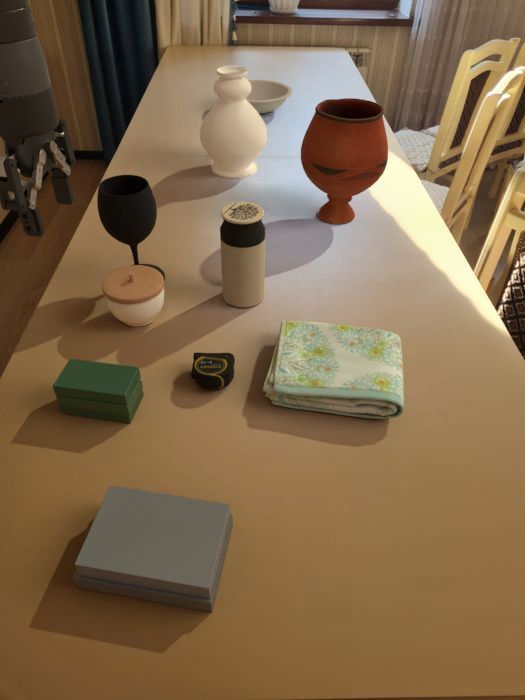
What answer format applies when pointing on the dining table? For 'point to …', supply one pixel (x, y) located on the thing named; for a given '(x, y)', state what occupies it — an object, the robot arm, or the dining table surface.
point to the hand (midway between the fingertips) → (51, 218)
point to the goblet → (344, 153)
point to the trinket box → (134, 294)
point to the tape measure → (213, 370)
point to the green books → (102, 407)
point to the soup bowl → (267, 95)
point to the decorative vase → (233, 126)
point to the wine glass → (128, 211)
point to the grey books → (156, 548)
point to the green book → (97, 381)
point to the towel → (337, 370)
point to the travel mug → (242, 254)
